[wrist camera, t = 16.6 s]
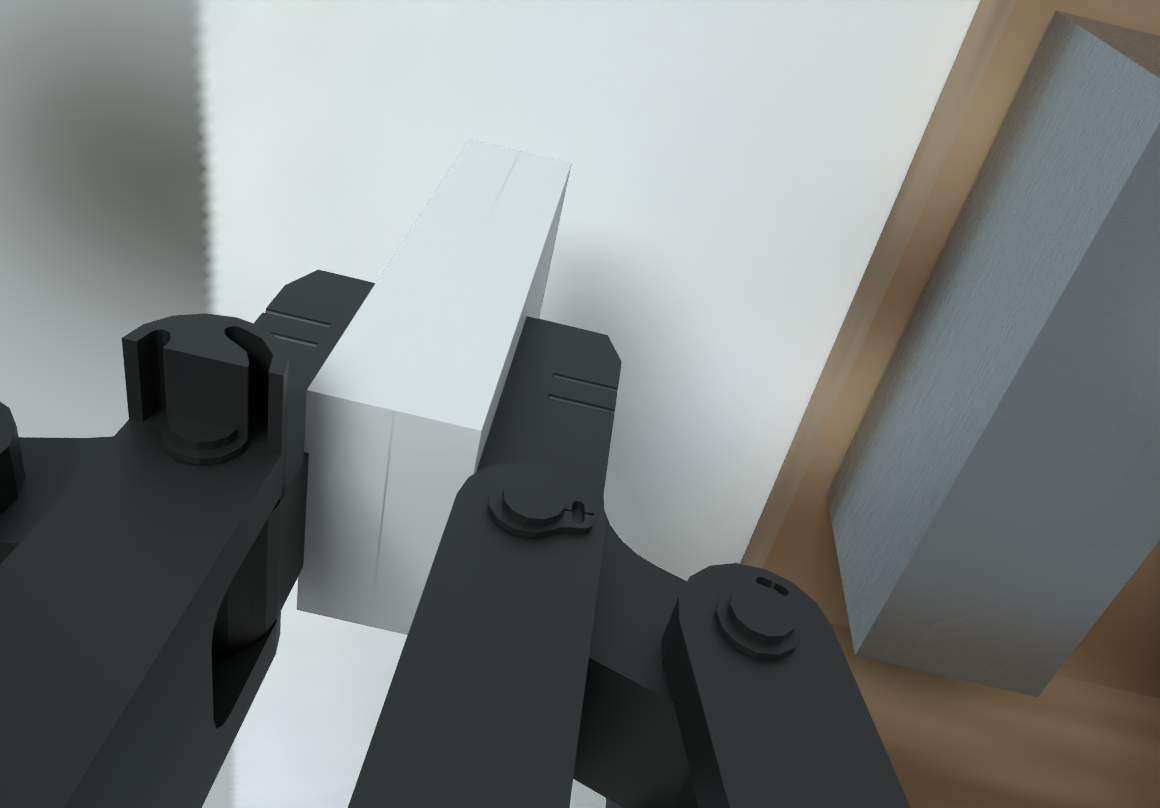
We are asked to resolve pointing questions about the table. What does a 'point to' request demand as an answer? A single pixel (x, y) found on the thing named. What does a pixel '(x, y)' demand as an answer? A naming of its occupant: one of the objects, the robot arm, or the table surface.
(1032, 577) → the grey rectangular block
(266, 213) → the table surface
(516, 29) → the table surface
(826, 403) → the wooden book rack
